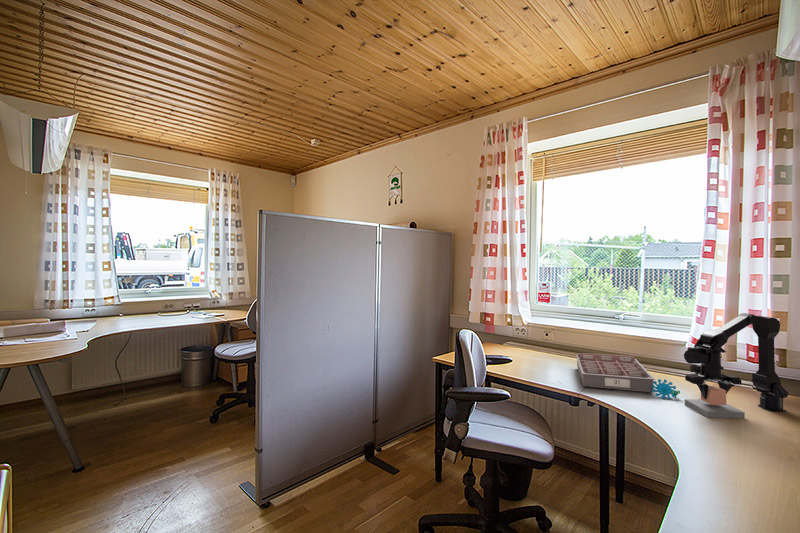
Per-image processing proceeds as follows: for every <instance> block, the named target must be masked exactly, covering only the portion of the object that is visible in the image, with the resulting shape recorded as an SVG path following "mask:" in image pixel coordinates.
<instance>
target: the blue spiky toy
mask: <svg viewBox="0 0 800 533" xmlns="http://www.w3.org/2000/svg"><path fill="white" fill-rule="evenodd" d="M657 382H658V383H657ZM651 387H652V388H653V389H652V391H653V392H652V393H655V396H656V397H659V396H661V397H660V398H661V399H662V400H664V399H665V397H666V396H667V397H666V399H667V400H671V398H676V397H677V396H678V394H679V395H680V394H681V391H680V390H676V389H677V386H676V385H673V382H672V381H669V382H668V380H667V379H666V378H665V379H663V382H662V379H659V378H658V379H657V380H653V384H652V386H651ZM670 395H671V396H670Z"/></svg>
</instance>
